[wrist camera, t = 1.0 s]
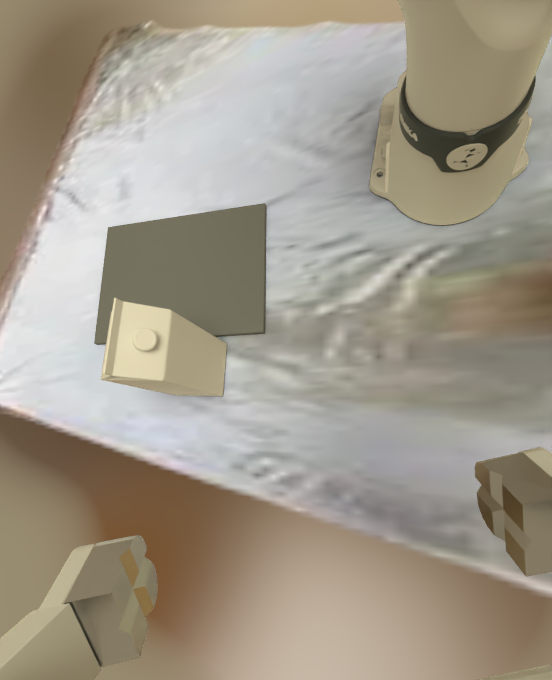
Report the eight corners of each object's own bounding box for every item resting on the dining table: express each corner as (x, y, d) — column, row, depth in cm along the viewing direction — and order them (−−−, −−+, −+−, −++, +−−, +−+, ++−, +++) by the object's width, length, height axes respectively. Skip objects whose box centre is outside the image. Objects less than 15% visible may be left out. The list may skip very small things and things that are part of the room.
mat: (111, 229, 63) (108, 227, 62) (266, 206, 57) (264, 203, 56) (98, 344, 59) (94, 343, 58) (265, 333, 52) (263, 331, 51)
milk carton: (174, 395, 53) (70, 373, 36) (180, 344, 55) (83, 299, 37) (223, 396, 51) (138, 374, 34) (227, 343, 53) (149, 295, 35)
